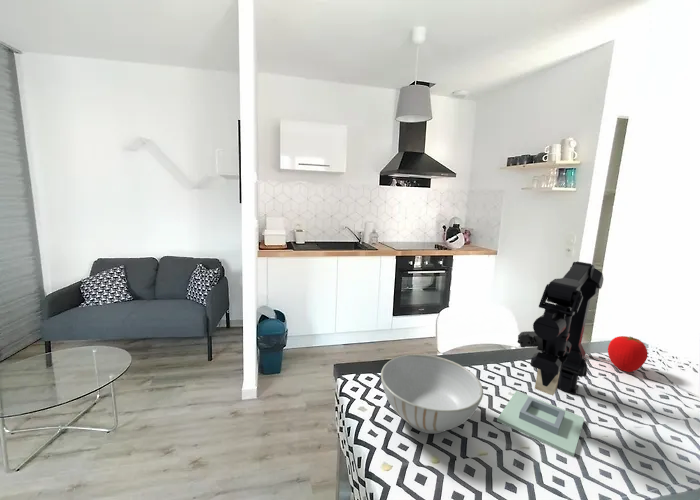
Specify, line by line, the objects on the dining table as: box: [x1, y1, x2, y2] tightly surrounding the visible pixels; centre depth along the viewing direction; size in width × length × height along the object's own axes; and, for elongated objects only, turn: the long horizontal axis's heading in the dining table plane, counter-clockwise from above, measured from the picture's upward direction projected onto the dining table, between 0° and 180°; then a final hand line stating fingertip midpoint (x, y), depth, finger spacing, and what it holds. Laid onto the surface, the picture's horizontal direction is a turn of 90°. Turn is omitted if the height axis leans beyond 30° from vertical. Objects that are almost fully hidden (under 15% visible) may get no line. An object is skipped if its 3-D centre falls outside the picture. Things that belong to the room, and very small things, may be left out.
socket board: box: [497, 390, 585, 458], centre depth 94 cm, size 18×18×3 cm
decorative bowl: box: [380, 353, 484, 434], centre depth 92 cm, size 27×27×12 cm
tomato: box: [607, 335, 648, 373], centre depth 124 cm, size 11×11×13 cm
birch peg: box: [534, 362, 562, 397], centre depth 92 cm, size 4×4×8 cm
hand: (547, 381), depth 92 cm, fingers closed on birch peg, 4 cm apart
